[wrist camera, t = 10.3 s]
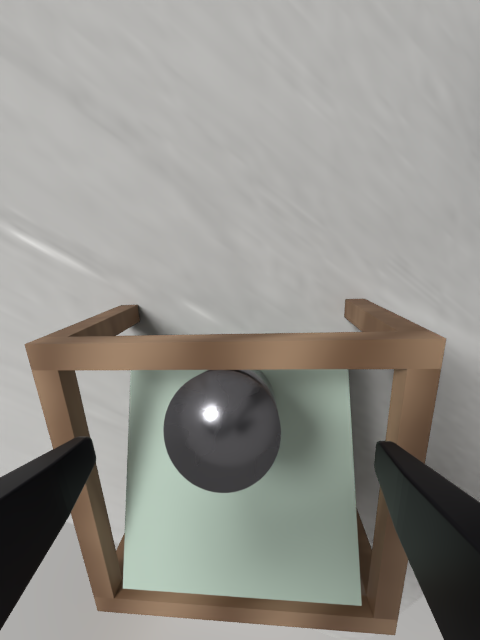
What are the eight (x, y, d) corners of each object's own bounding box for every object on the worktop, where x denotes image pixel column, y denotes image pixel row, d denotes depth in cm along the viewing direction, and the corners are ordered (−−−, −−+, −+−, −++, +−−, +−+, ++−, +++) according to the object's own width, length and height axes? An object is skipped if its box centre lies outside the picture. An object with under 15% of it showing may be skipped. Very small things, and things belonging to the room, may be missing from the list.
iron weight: (273, 360, 16) (279, 369, 11) (276, 442, 16) (282, 495, 11) (196, 361, 17) (164, 370, 11) (196, 441, 16) (162, 490, 11)
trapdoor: (342, 353, 17) (347, 353, 16) (355, 589, 16) (361, 605, 15) (138, 355, 18) (131, 356, 17) (131, 574, 17) (122, 588, 16)
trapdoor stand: (364, 298, 18) (446, 338, 10) (347, 498, 23) (395, 635, 15) (121, 305, 20) (24, 344, 12) (151, 491, 25) (97, 611, 17)
